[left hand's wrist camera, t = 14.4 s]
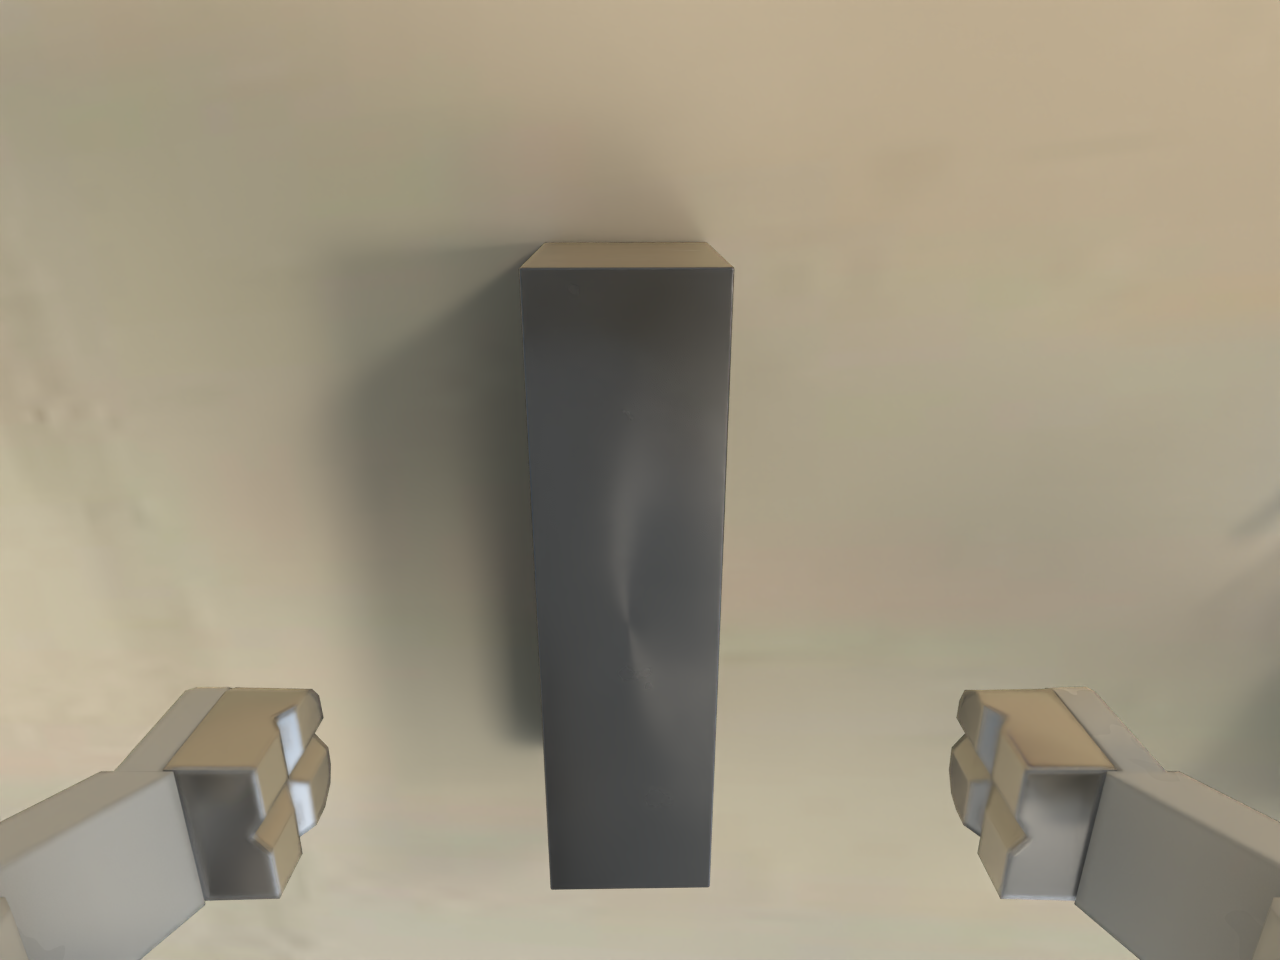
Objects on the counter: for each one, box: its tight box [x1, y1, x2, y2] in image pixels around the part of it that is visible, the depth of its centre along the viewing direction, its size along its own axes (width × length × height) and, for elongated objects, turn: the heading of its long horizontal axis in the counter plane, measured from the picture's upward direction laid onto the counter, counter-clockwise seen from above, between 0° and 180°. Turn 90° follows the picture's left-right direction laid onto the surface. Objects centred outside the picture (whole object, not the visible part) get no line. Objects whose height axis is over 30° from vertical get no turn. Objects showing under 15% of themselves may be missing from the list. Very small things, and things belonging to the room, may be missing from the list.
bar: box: [519, 242, 734, 890], centre depth 30 cm, size 22×6×8 cm, turn 0°
